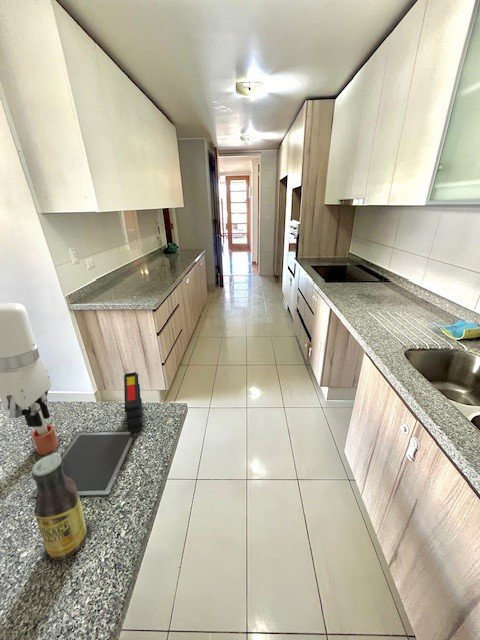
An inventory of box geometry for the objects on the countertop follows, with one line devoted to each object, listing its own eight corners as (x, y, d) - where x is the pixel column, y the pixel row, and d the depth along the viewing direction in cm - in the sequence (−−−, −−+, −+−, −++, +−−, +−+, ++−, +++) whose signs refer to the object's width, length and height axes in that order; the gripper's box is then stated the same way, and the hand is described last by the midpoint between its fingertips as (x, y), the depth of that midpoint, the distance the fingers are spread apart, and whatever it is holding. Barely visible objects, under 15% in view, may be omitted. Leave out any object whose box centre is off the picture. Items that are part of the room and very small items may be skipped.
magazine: (141, 397, 86) (137, 370, 76) (144, 436, 77) (139, 411, 67) (129, 399, 85) (123, 373, 75) (131, 439, 76) (124, 415, 66)
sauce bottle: (40, 563, 46) (6, 482, 39) (63, 524, 51) (36, 448, 44) (78, 563, 46) (50, 482, 39) (96, 524, 51) (75, 448, 44)
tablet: (33, 499, 56) (32, 495, 56) (78, 435, 73) (78, 432, 72) (108, 497, 57) (108, 493, 56) (136, 434, 73) (136, 431, 73)
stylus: (41, 450, 67) (26, 406, 62) (46, 444, 69) (32, 401, 64) (49, 450, 67) (34, 406, 62) (54, 444, 69) (40, 400, 64)
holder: (33, 456, 66) (26, 438, 64) (45, 442, 70) (39, 424, 68) (51, 455, 66) (45, 437, 64) (62, 441, 71) (57, 424, 68)
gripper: (26, 342, 66) (45, 401, 72) (-33, 377, 51) (-3, 448, 58) (57, 342, 66) (72, 401, 73) (7, 376, 51) (32, 447, 58)
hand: (39, 421), depth 65 cm, fingers closed on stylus, 2 cm apart
